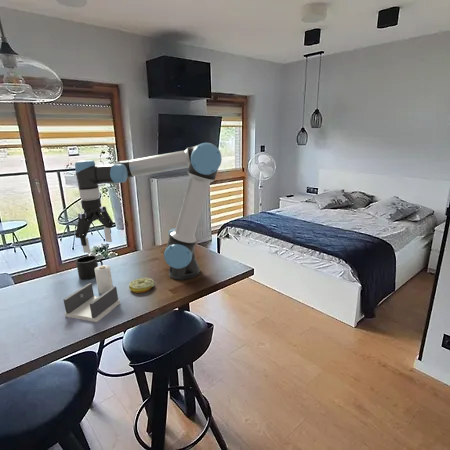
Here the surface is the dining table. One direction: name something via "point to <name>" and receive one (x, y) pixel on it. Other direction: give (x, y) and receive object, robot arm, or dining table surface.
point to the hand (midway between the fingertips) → (98, 246)
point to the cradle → (90, 304)
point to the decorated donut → (141, 285)
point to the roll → (103, 278)
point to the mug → (87, 267)
